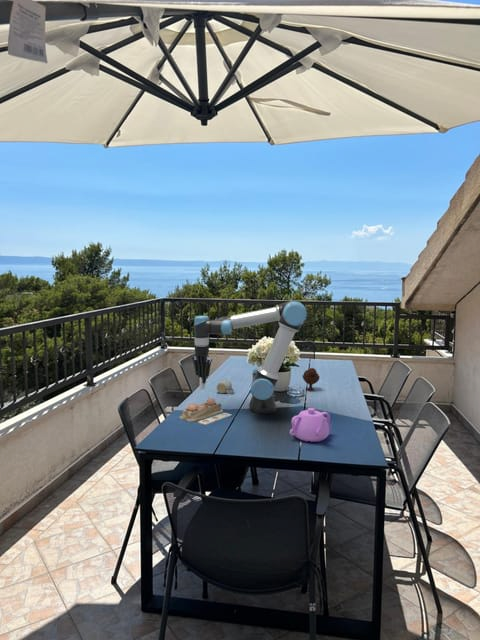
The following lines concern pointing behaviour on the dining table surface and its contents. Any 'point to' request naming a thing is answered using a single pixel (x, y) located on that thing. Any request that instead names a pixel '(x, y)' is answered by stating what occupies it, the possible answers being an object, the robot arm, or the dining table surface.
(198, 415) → the button panel
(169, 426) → the dining table surface
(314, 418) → the teapot
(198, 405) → the button middle
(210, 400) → the button
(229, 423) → the dining table surface
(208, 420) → the pattern card
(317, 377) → the brown tree model
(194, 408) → the button
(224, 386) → the ceramic mug
